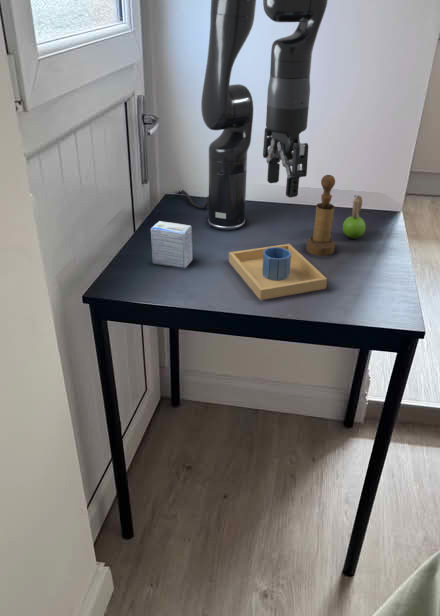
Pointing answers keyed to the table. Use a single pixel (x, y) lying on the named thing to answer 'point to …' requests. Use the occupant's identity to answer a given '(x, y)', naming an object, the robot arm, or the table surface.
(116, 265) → the table surface
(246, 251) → the tray
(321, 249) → the mortar and pestle
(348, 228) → the green ball with peg
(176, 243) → the medicine box
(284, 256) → the cup
